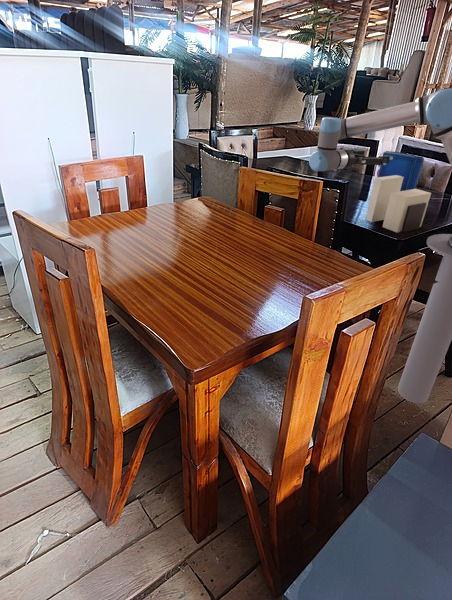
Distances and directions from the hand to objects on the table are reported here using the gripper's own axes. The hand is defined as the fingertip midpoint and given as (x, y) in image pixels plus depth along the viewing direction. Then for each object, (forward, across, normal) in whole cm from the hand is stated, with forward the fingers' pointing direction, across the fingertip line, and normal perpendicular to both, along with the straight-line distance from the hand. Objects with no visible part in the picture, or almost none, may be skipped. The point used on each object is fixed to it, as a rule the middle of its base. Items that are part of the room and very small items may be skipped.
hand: (375, 156), depth 174 cm
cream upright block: (+13, +13, -30) cm, 35 cm away
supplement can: (+61, -39, -30) cm, 79 cm away
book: (+51, -21, -30) cm, 63 cm away
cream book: (+13, 0, -30) cm, 33 cm away
